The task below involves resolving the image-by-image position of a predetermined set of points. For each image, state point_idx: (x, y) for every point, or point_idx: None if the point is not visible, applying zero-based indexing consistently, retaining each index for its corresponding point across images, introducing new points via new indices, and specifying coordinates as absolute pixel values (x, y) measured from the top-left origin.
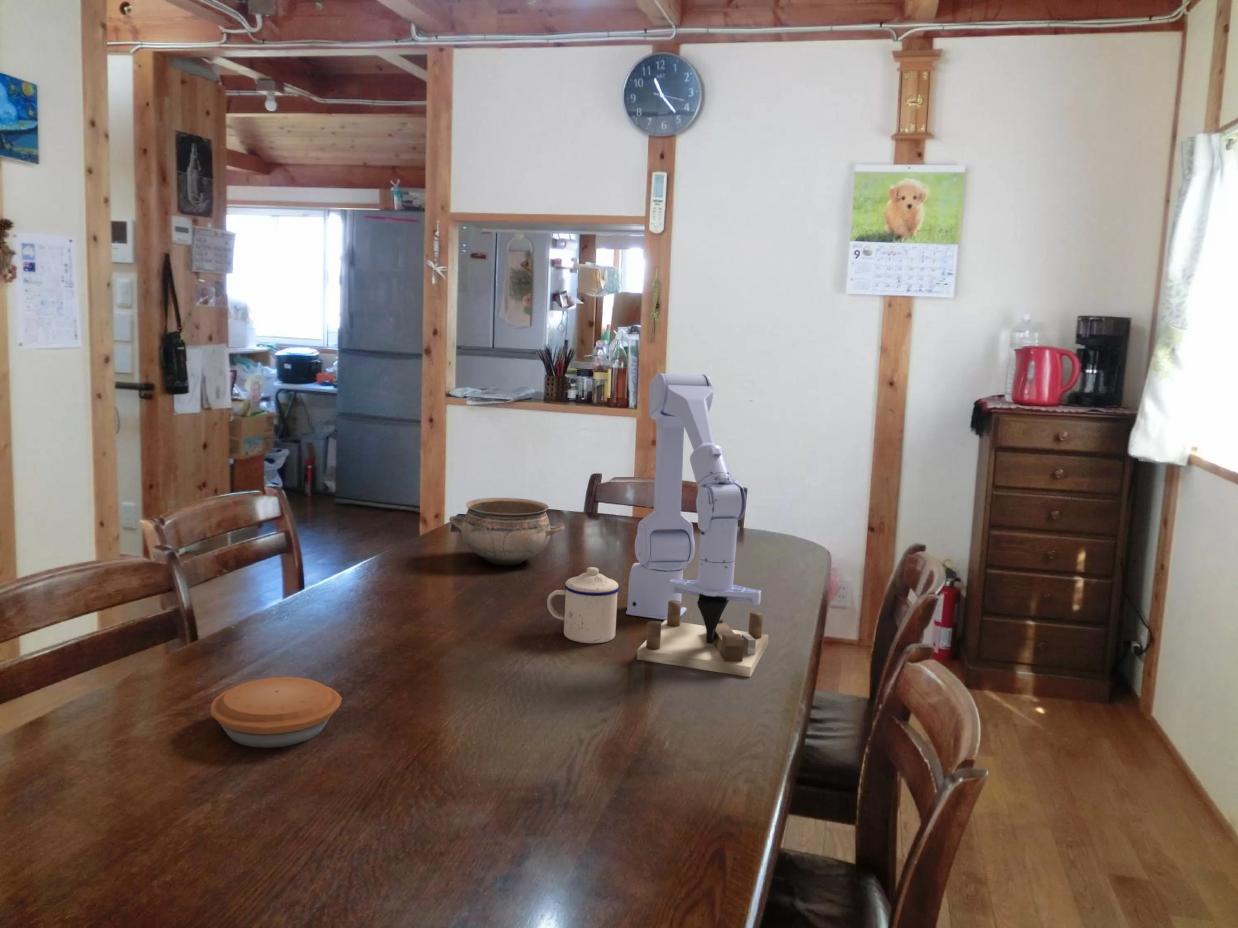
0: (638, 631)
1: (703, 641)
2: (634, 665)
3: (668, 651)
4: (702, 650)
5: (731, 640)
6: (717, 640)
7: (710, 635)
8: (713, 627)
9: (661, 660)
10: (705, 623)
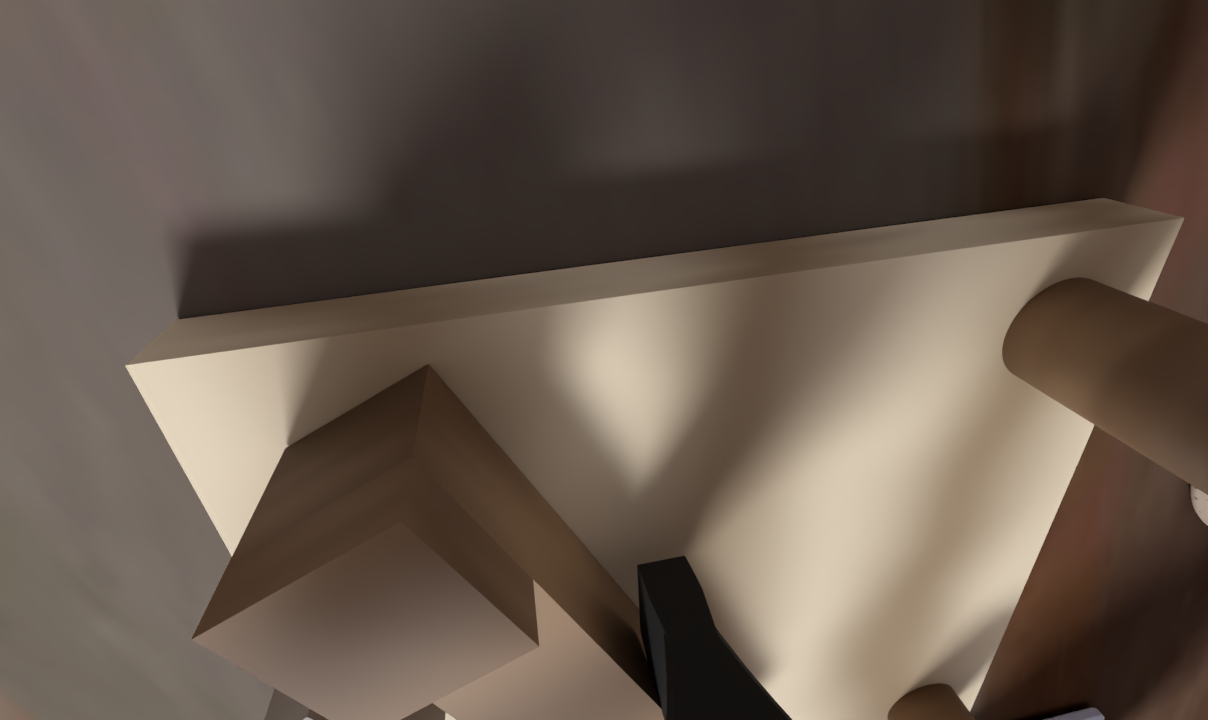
0: (1052, 595)
1: (719, 616)
2: (1134, 46)
3: (936, 315)
4: (686, 481)
5: (340, 542)
6: (608, 616)
7: (673, 616)
8: (673, 700)
9: (942, 226)
10: (775, 710)
